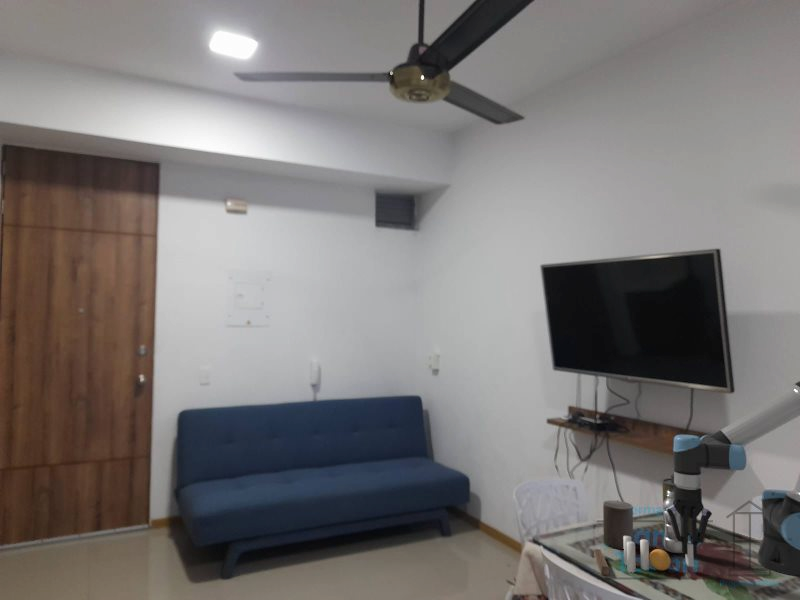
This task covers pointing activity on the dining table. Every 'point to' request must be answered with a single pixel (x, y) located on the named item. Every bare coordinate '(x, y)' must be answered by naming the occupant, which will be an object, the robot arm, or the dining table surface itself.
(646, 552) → the front pin
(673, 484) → the canister
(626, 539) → the pin
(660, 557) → the ball
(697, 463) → the robot arm
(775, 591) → the dining table surface
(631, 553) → the pin
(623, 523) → the pillar candle
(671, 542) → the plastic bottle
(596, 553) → the brown wooden stick
